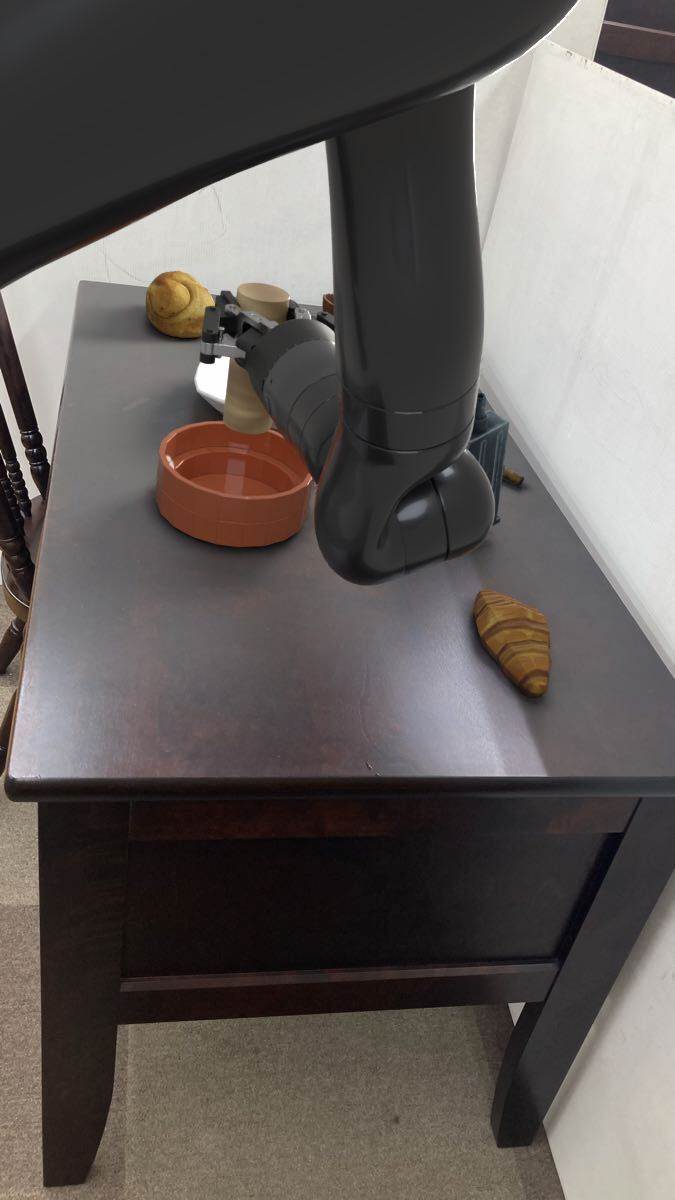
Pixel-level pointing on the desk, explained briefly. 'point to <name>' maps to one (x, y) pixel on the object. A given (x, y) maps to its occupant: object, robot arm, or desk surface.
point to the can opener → (513, 477)
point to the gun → (489, 446)
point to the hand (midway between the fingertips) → (251, 303)
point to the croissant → (515, 640)
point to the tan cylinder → (240, 396)
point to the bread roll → (177, 304)
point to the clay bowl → (232, 485)
